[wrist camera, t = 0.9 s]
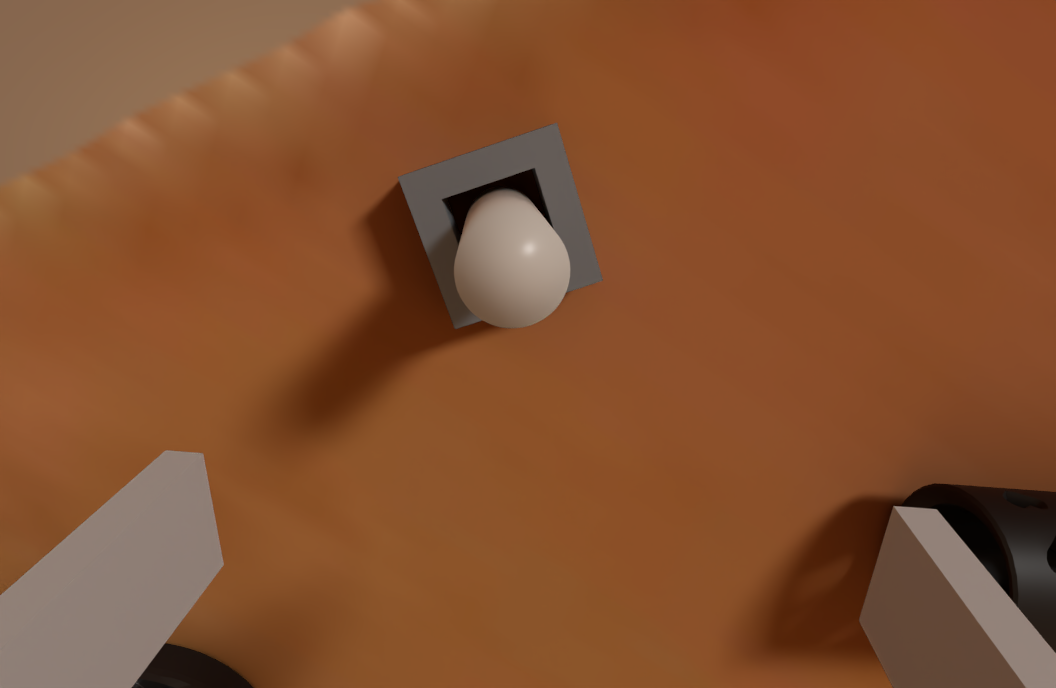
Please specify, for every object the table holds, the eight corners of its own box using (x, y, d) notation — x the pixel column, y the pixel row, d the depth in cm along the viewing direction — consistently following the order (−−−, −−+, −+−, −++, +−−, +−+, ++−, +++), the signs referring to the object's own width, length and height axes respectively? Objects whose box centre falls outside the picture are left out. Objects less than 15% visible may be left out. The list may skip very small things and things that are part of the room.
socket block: (457, 313, 33) (455, 329, 31) (405, 174, 31) (397, 177, 28) (592, 268, 33) (602, 280, 30) (550, 124, 31) (556, 123, 28)
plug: (480, 267, 33) (476, 342, 20) (456, 199, 32) (437, 235, 19) (547, 245, 33) (584, 307, 20) (525, 176, 32) (550, 196, 19)
